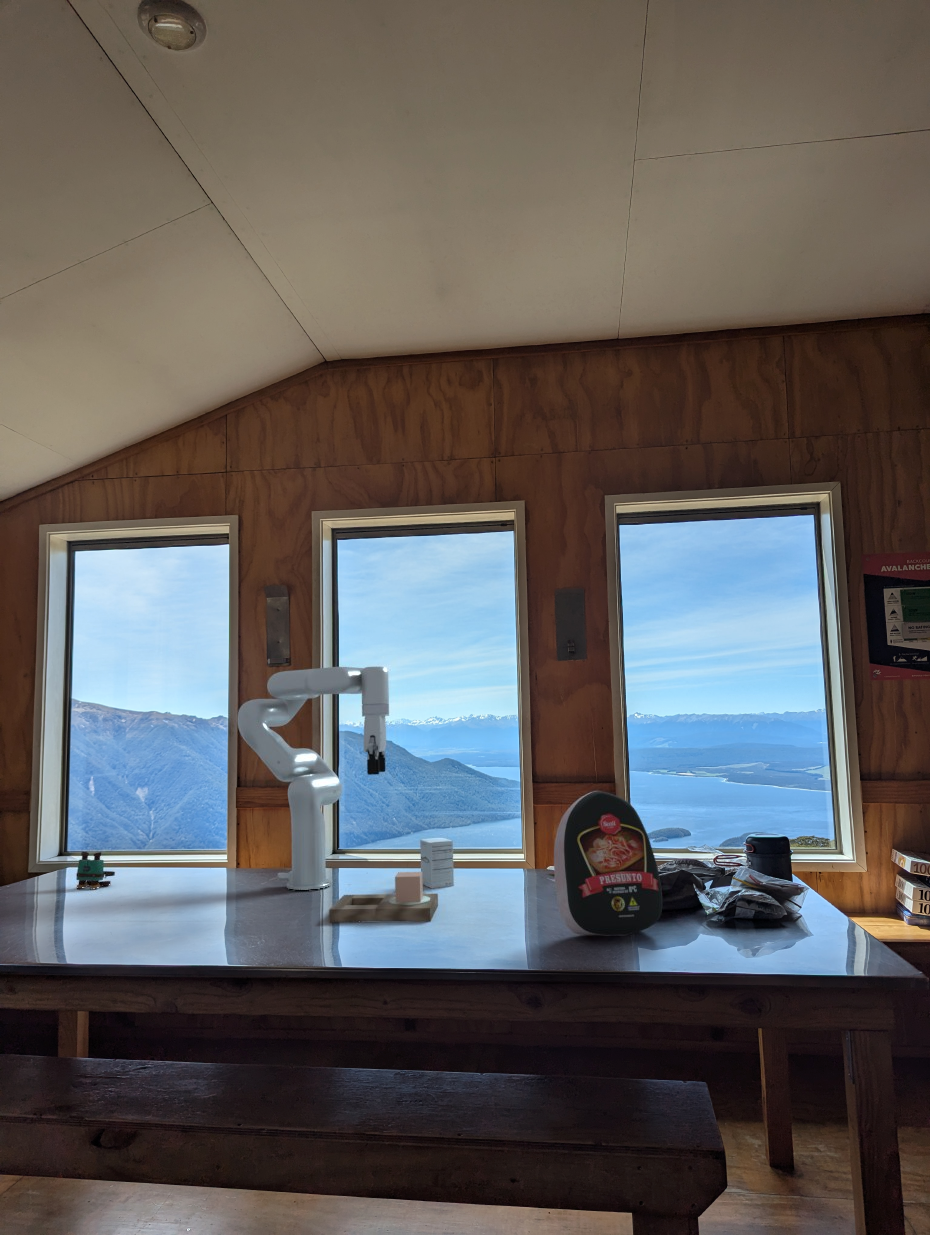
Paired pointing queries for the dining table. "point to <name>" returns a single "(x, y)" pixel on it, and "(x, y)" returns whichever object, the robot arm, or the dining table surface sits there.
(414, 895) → the block
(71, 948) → the dining table surface
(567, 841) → the packaged food
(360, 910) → the hole platform
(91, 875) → the green boxy piece
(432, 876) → the supplement box
